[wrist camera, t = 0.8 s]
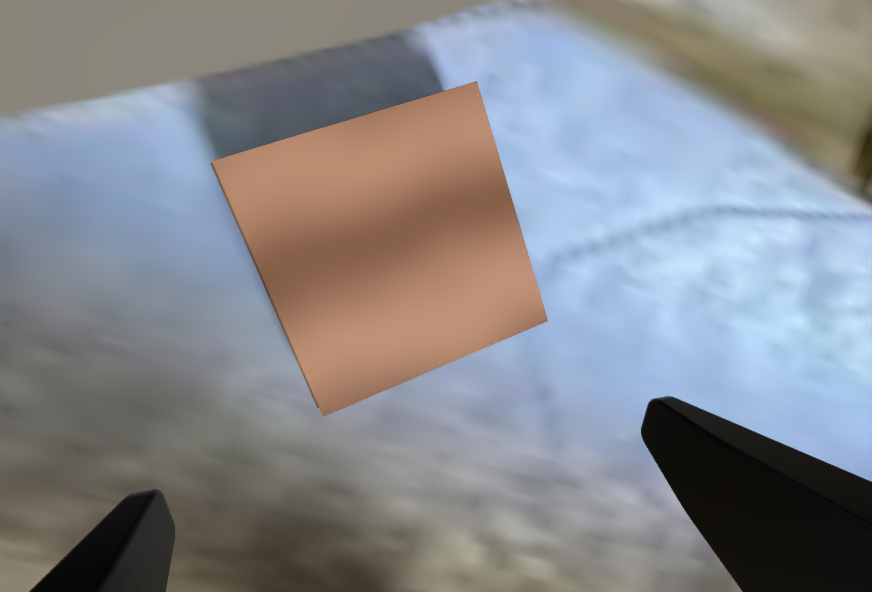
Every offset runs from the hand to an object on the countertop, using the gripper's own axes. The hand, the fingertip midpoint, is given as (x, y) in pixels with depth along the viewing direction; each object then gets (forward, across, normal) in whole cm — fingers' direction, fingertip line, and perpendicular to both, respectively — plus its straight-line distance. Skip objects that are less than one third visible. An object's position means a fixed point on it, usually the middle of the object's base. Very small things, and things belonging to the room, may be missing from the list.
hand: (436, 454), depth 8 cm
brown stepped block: (+14, -1, +1) cm, 15 cm away
